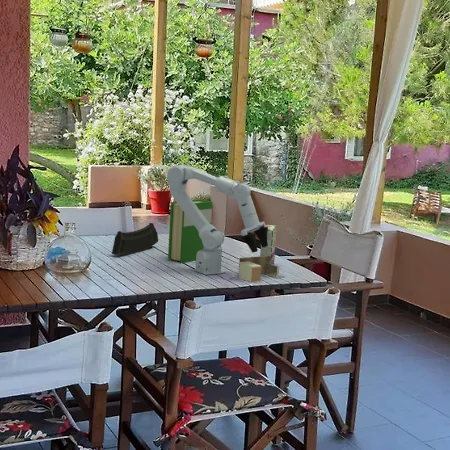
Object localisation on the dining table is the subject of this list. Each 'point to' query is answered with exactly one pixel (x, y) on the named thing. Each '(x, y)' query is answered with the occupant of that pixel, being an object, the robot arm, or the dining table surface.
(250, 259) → the shelf wall
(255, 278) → the boxed book
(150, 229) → the magazine
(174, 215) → the hardback book
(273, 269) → the bookend
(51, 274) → the dining table surface
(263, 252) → the candy bar box
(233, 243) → the dining table surface
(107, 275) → the dining table surface
